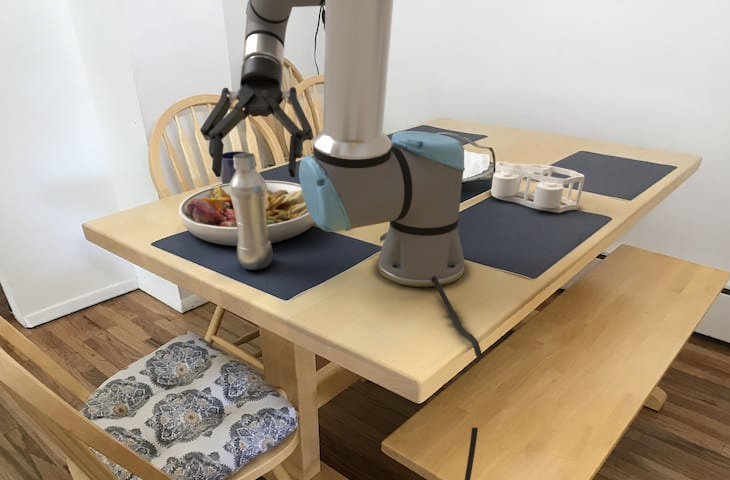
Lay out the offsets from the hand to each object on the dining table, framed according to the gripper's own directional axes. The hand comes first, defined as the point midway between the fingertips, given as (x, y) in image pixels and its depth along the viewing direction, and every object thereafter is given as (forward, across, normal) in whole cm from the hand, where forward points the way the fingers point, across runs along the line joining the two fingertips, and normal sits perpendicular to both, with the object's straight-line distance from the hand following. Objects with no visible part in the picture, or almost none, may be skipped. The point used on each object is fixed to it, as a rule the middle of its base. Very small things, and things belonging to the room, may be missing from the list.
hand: (253, 173), depth 97 cm
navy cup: (-15, +14, -37) cm, 42 cm away
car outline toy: (-11, -57, -33) cm, 66 cm away
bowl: (0, +5, -22) cm, 22 cm away
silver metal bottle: (+15, 0, -7) cm, 17 cm away
